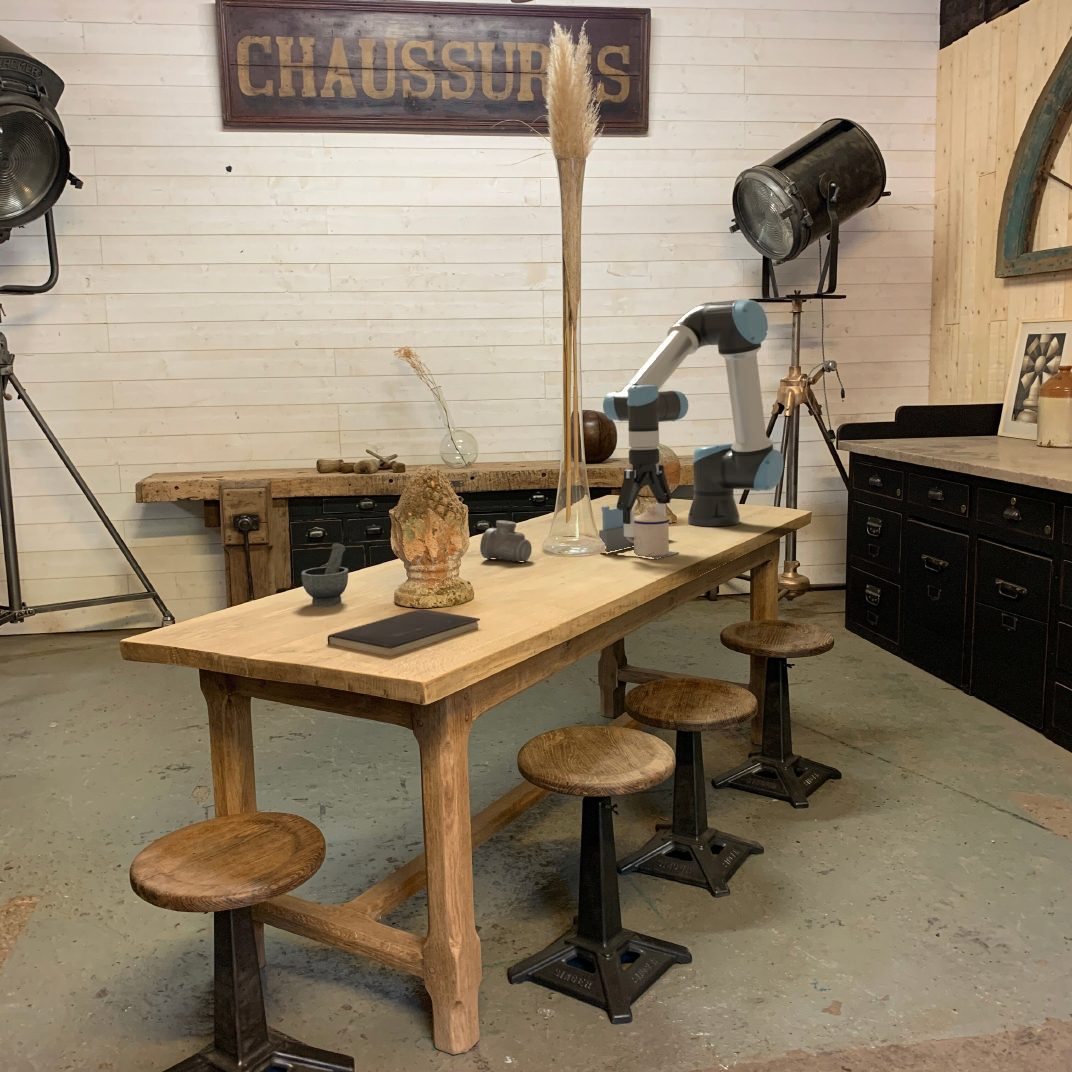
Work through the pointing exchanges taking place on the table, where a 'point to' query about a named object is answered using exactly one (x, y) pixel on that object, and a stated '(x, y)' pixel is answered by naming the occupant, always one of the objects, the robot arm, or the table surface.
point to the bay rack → (619, 540)
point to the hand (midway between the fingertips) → (645, 532)
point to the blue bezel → (612, 518)
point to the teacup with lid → (651, 534)
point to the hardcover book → (403, 632)
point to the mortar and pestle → (327, 580)
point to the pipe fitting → (505, 543)
